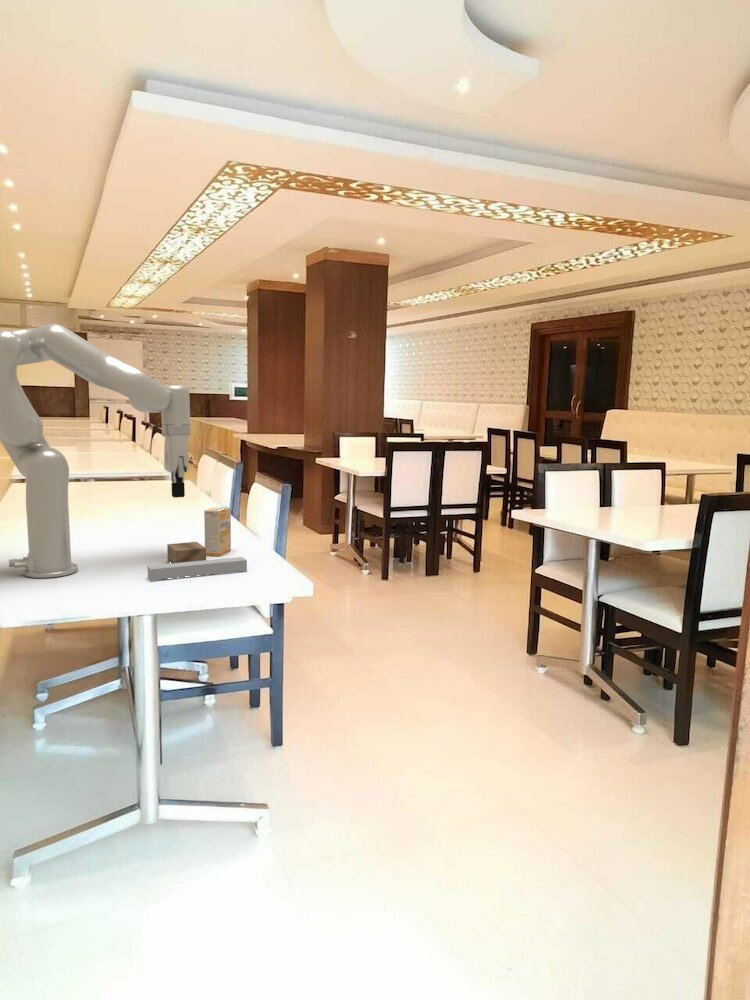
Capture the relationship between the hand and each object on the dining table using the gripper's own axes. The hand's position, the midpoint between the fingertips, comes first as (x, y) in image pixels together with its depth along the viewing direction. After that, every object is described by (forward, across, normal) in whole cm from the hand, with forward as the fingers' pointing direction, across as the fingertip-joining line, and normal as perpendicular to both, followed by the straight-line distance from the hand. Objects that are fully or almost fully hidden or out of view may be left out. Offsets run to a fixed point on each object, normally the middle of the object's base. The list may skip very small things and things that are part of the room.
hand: (178, 496), depth 191 cm
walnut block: (+17, +10, 0) cm, 20 cm away
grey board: (+17, +22, 0) cm, 28 cm away
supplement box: (+17, 0, +11) cm, 20 cm away
